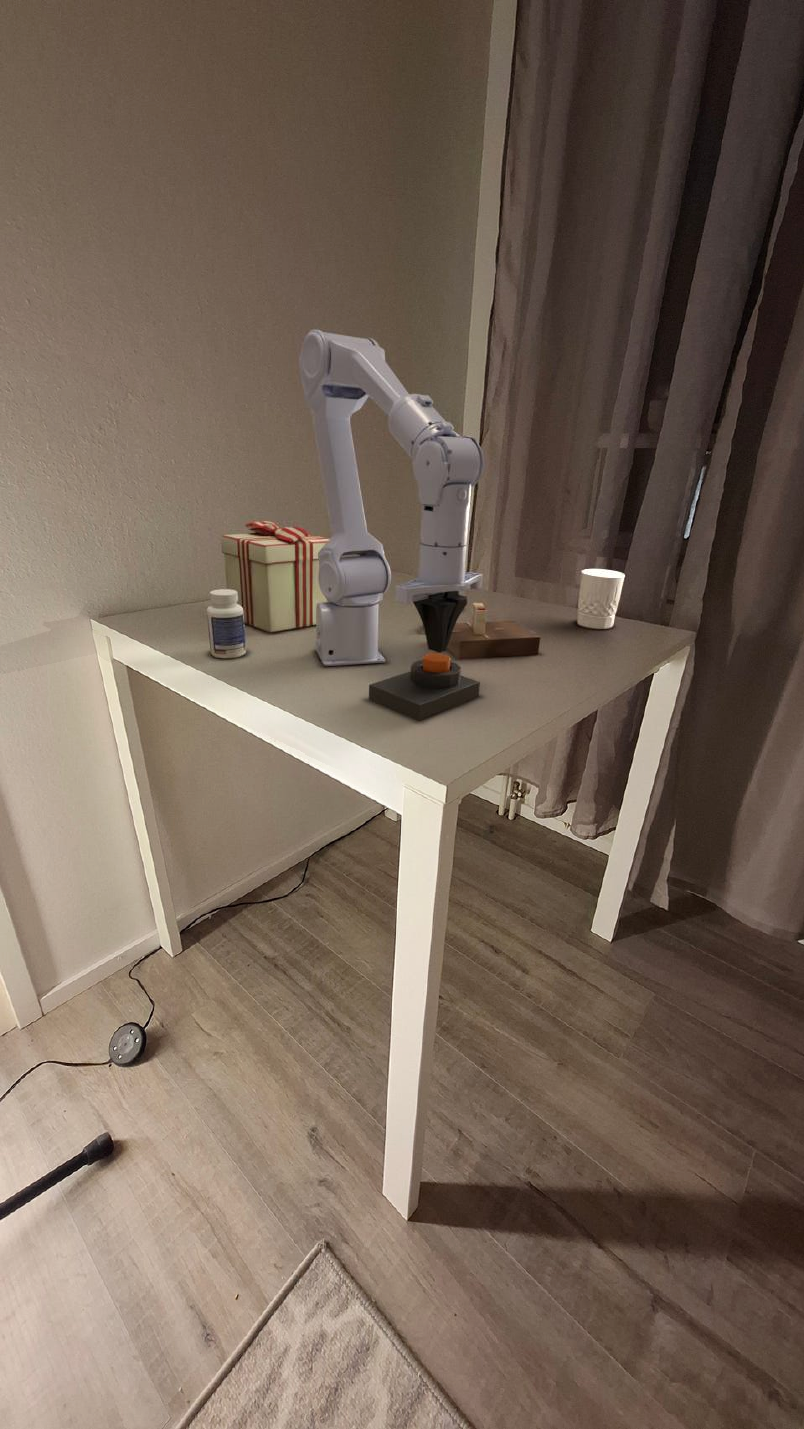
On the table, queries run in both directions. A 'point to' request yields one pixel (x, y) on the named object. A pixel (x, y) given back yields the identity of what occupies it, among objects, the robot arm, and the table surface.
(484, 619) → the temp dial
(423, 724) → the table surface
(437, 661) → the power button
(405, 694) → the button base
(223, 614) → the pill bottle
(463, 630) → the dial panel
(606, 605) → the white cup
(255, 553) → the gift box
